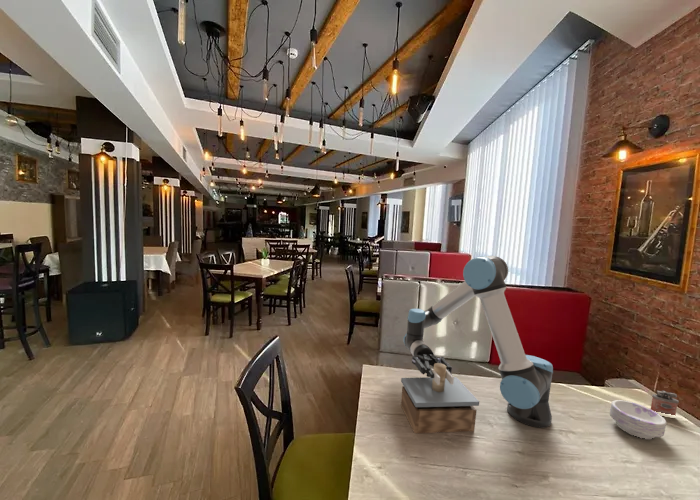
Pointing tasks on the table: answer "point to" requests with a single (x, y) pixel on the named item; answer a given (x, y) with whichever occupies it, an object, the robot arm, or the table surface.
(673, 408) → the lighter
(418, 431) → the brown wooden open box
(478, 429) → the table surface
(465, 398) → the lid
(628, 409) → the paper bowls
